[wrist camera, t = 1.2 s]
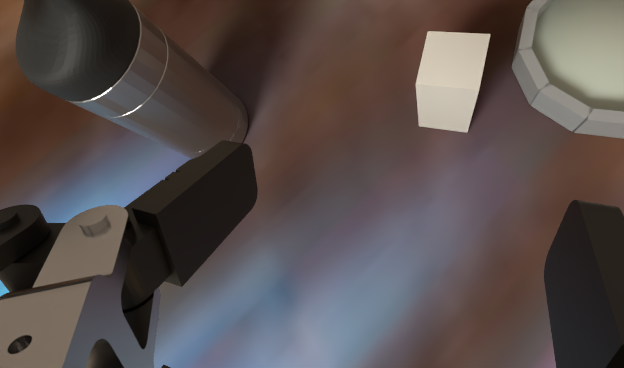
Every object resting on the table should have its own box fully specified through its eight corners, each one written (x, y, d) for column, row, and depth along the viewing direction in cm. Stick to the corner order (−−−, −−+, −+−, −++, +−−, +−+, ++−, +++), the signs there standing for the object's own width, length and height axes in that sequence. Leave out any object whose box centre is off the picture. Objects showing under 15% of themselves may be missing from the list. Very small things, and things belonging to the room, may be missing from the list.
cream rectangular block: (418, 126, 37) (415, 84, 28) (428, 84, 37) (427, 31, 29) (467, 132, 35) (479, 90, 27) (476, 88, 36) (490, 33, 27)
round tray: (500, 123, 34) (506, 110, 31) (528, -25, 36) (537, -49, 34) (722, 150, 29) (753, 137, 26) (739, -26, 31) (769, -55, 28)
